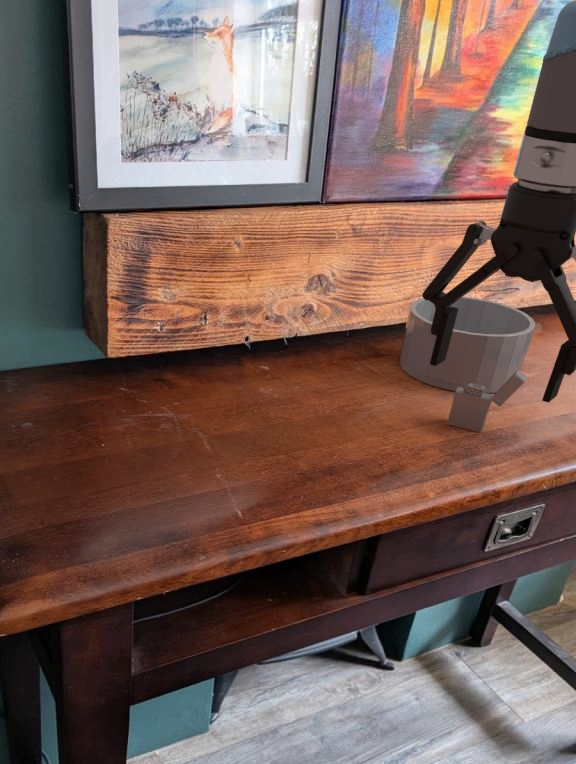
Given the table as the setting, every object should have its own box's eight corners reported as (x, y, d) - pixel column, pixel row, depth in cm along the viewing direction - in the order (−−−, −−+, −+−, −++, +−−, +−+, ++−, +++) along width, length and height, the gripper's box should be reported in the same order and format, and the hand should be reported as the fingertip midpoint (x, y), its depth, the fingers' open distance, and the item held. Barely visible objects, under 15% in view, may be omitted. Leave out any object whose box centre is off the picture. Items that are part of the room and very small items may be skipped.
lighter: (446, 423, 91) (462, 362, 87) (450, 418, 92) (466, 357, 88) (506, 439, 88) (526, 376, 84) (509, 433, 90) (528, 372, 85)
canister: (535, 370, 107) (552, 316, 103) (490, 404, 97) (507, 346, 92) (430, 339, 116) (442, 288, 111) (378, 368, 105) (389, 312, 101)
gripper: (420, 168, 79) (381, 356, 91) (675, 213, 66) (591, 425, 78) (450, 162, 84) (409, 341, 96) (694, 203, 71) (611, 404, 83)
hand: (491, 379), depth 87 cm, fingers open, 13 cm apart
